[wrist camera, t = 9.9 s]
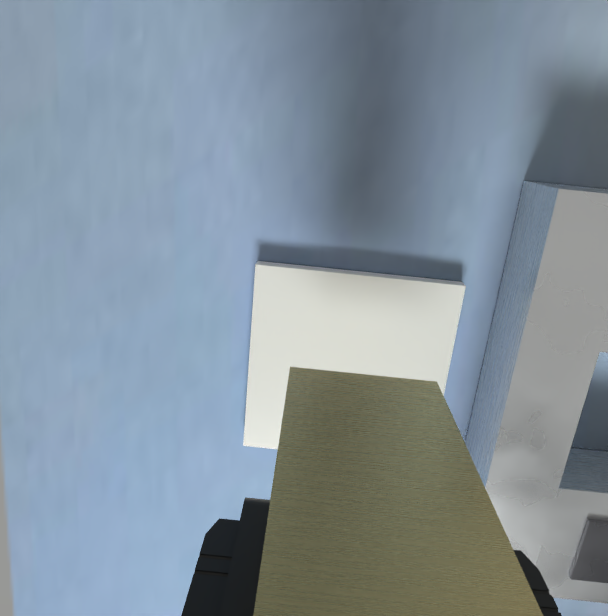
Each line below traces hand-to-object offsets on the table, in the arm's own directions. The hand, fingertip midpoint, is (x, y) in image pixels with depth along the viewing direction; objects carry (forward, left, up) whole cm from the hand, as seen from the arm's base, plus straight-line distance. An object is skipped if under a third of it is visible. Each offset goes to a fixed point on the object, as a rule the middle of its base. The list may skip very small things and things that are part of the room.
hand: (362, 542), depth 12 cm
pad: (0, 0, -10) cm, 10 cm away
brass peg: (0, 0, -4) cm, 4 cm away
